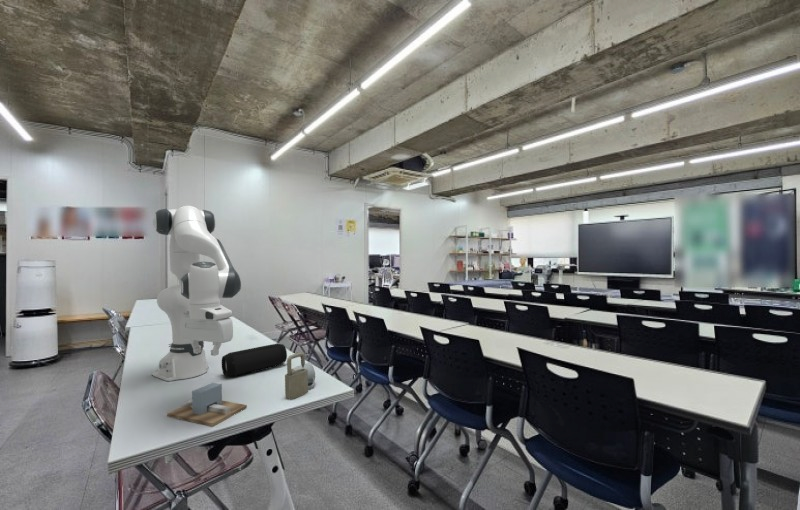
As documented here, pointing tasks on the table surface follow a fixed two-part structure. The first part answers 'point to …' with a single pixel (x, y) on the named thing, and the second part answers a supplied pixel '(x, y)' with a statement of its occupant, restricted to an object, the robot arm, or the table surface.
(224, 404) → the striped wooden board
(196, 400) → the block
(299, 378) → the padlock
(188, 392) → the table surface
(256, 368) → the portable speaker
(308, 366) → the ceramic mug
